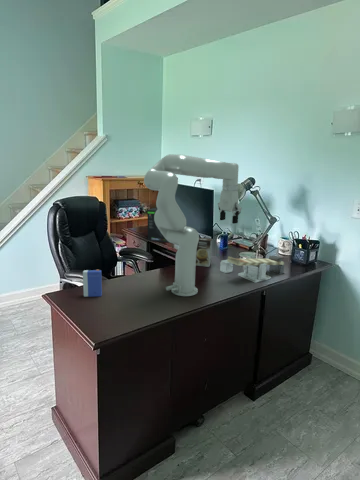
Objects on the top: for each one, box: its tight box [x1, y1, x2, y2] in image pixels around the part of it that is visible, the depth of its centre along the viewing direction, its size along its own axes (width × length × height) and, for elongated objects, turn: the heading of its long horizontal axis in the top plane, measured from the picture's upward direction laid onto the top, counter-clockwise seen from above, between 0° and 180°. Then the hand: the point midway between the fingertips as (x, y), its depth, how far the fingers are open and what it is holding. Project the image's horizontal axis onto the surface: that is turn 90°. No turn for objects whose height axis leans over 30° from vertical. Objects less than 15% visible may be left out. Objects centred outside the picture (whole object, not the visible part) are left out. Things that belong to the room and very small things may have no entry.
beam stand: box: [237, 257, 285, 284], centre depth 187 cm, size 26×13×9 cm, turn 124°
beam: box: [226, 255, 285, 267], centre depth 183 cm, size 36×8×4 cm, turn 124°
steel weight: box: [219, 259, 234, 274], centre depth 192 cm, size 5×5×6 cm
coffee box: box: [196, 237, 213, 268], centre depth 201 cm, size 9×6×16 cm
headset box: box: [147, 207, 170, 244], centre depth 257 cm, size 22×12×26 cm, turn 73°
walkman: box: [82, 269, 103, 298], centre depth 153 cm, size 8×3×12 cm, turn 96°
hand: (228, 221), depth 174 cm, fingers open, 9 cm apart
